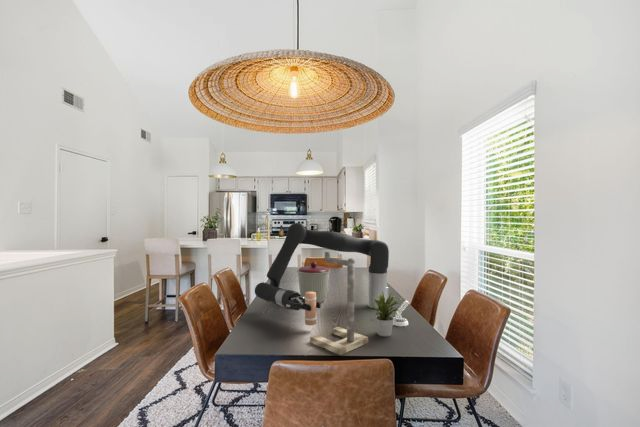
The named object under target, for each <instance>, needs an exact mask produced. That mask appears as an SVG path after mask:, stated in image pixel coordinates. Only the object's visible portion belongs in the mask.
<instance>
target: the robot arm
mask: <svg viewBox="0 0 640 427" xmlns="http://www.w3.org/2000/svg"><path fill="white" fill-rule="evenodd" d="M300 244H301V245H310V246H316V247H318V248H323V249H326V250H331V251H335V252H341V253H342V252H343V253H358V254H363V255H365V256H368V257H369V258H370V260H369V261H370V262H369V266H368V287H367V288H368V291H367V292H368V295H367V296H368V297H367V299H368V303H367V304H368V305H367V306H368V307H369V306H374V307H375V308H376V309H377V310H379V308H378V306H377V305H376V304H377V303H376V302H374V299H373V298H372V297H374V298H375V299H376V300H379V293H380V294H381V296H382V291H383V294H384V298H385V302H386V300H387V298H388V297H389V287H388V268H389V261H390V260H389V256H390V254H389V253H390V252H389V251H390V250H389V246H388V244H387V243H386V242H384V241H381V240H379V239H364V238H359V237H355V236H352V235H350V234H346V233H342V232H337V231H331V230H330V231H328V230H325V231H317V230H312V229H308V228H306V227H305V226H304V224H303V223H300V222H294V223H292V224H290V226H289V227H288V229H287V231H286V236H285V239H284V241H283V243H282V246H281V248H280V250H279V252H278V253H277V254H276V257H275V258H274V260H273V262H272V263H271V266H270V267H269V269H268V271H267V274H266V277H267V279H268V280H269V282H270V283H266V282H264V281H263V282H259V283H257V284H256V285H255V288H254V294H255V296H256V297H257V298H259V299H261V300H263V301H266V302H269V303H270V302H271V303H273V304H276V305H279V306H280V307H283V308H285V309H287V310H292V311H300V310H301V311H303V310H304V311H305V310H307V311H311V305H309V304H305V297H303V296H301V295H300V292H298V291H296V290H292V289H289V288H281V287H280V284H281V280H282V278H283V276H284V274H285V272H286V270H287V267H288V265H289V263H290V261H291V259H292V256H293V254H294V252H295V251H296V249H297V248H298V246H299V245H300ZM316 309H321V302H317V299H316Z"/></svg>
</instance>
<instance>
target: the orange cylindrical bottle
mask: <svg viewBox="0 0 640 427" xmlns="http://www.w3.org/2000/svg"><path fill="white" fill-rule="evenodd" d="M305 304H309V305H311V311H307V310H304V324H305V325H306V326H315V325H316V324H317V308H316V292H306V293H305Z"/></svg>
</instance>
